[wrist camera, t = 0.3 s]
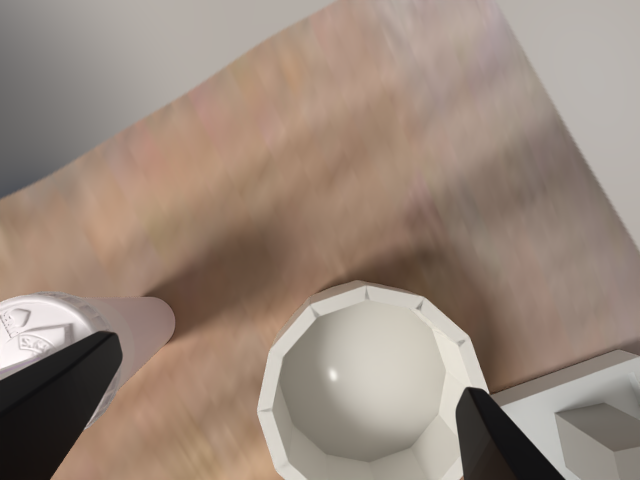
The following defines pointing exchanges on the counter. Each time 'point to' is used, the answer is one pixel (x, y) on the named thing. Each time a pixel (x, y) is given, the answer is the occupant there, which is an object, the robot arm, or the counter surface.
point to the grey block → (600, 442)
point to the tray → (572, 398)
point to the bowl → (366, 387)
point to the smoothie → (82, 331)
